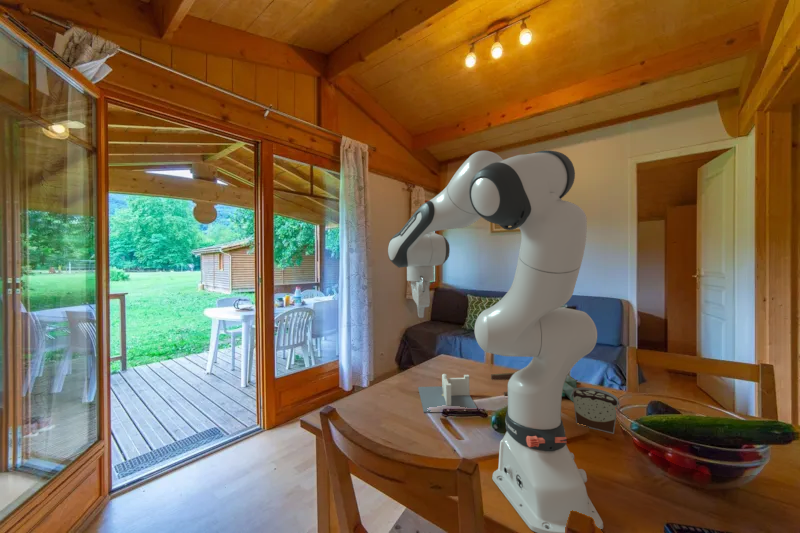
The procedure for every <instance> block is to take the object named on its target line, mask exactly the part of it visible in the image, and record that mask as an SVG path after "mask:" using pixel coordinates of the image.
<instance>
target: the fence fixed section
mask: <svg viewBox="0 0 800 533" xmlns="http://www.w3.org/2000/svg"><path fill="white" fill-rule="evenodd" d="M447 381H448V383H450V384H451V396H456V395H470V375H469V374H463V377H447Z"/></svg>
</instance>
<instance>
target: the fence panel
mask: <svg viewBox="0 0 800 533" xmlns="http://www.w3.org/2000/svg"><path fill="white" fill-rule="evenodd" d="M441 386H442V395H444V398H445V401H446V406H451V384H450V383H448V374H447V373H442V375H441Z"/></svg>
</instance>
